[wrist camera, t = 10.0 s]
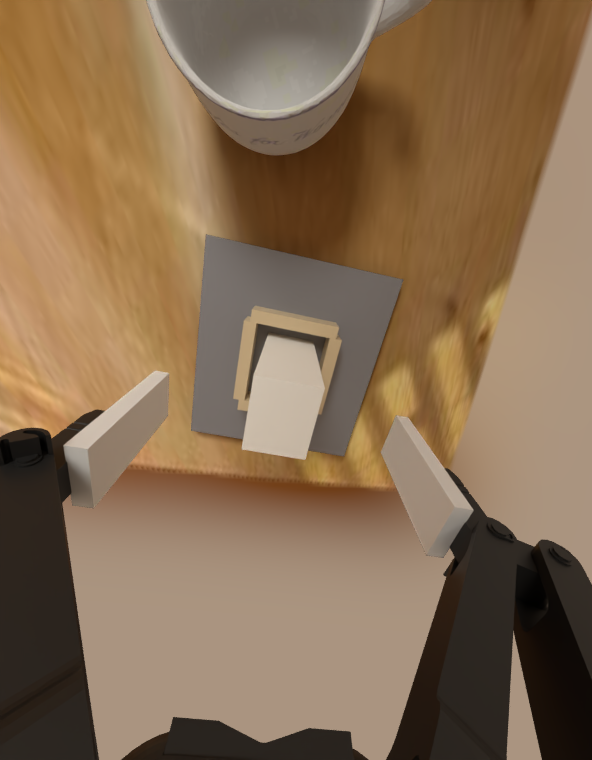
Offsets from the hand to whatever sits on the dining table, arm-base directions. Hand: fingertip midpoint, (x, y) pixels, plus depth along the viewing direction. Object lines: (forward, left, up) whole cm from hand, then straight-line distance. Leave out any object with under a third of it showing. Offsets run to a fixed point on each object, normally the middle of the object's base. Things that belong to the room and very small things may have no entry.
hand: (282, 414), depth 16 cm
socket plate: (0, 0, -11) cm, 11 cm away
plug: (0, 0, -10) cm, 10 cm away
